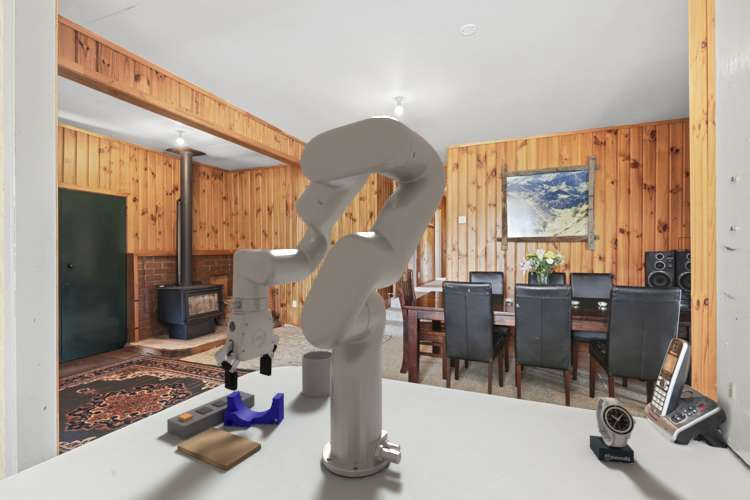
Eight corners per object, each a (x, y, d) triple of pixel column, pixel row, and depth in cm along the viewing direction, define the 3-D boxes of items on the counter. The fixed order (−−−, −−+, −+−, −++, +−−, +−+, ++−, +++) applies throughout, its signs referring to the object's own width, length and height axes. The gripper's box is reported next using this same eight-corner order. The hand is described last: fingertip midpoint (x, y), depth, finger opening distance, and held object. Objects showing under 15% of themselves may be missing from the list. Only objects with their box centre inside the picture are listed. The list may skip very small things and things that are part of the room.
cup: (323, 384, 102) (323, 349, 102) (339, 393, 96) (339, 355, 96) (296, 391, 97) (296, 354, 97) (312, 401, 91) (311, 362, 91)
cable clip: (223, 426, 78) (223, 399, 78) (233, 417, 83) (233, 391, 83) (276, 429, 77) (276, 401, 77) (284, 419, 82) (283, 393, 82)
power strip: (238, 402, 91) (238, 388, 91) (255, 407, 88) (255, 392, 88) (167, 433, 76) (167, 416, 76) (185, 441, 73) (185, 423, 73)
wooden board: (261, 448, 69) (261, 444, 69) (226, 470, 62) (226, 466, 62) (213, 430, 76) (213, 427, 76) (177, 449, 69) (177, 445, 69)
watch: (603, 471, 62) (603, 408, 62) (586, 446, 70) (586, 390, 70) (640, 476, 60) (640, 411, 60) (618, 449, 68) (618, 392, 68)
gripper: (229, 313, 70) (227, 400, 70) (290, 301, 85) (288, 373, 85) (204, 308, 73) (203, 391, 74) (267, 298, 88) (265, 367, 89)
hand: (249, 381), depth 79 cm, fingers open, 9 cm apart
